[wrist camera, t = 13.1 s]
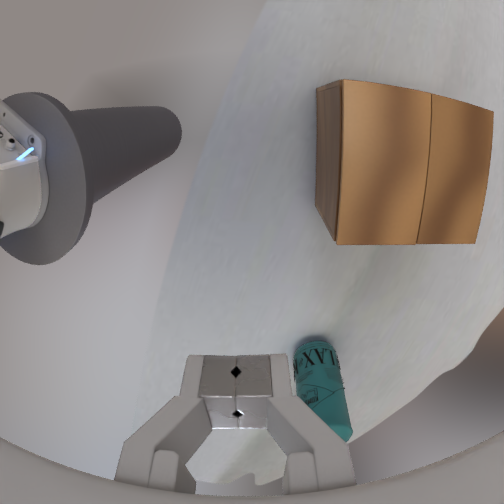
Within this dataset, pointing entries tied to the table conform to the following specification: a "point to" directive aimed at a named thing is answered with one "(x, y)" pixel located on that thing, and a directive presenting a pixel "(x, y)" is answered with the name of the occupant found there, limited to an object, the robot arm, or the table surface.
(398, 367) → the table surface
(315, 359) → the beverage bottle
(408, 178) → the flap
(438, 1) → the table surface
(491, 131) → the carton
